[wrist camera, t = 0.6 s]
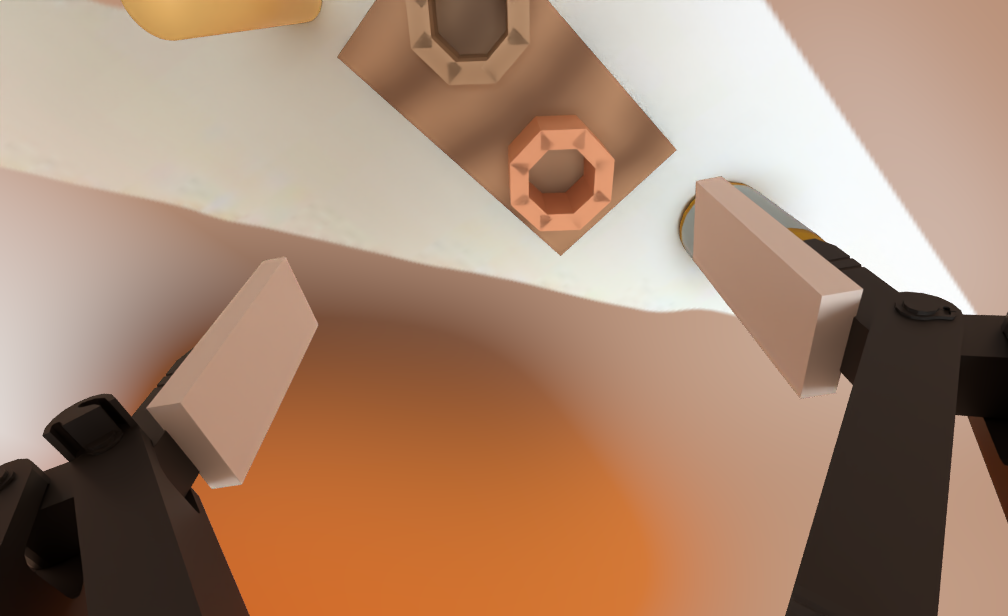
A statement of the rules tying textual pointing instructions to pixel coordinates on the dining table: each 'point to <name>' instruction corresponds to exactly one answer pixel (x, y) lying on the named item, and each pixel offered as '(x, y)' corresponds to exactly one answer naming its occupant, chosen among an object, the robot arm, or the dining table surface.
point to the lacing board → (508, 99)
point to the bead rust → (583, 196)
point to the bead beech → (467, 65)
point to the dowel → (217, 15)
